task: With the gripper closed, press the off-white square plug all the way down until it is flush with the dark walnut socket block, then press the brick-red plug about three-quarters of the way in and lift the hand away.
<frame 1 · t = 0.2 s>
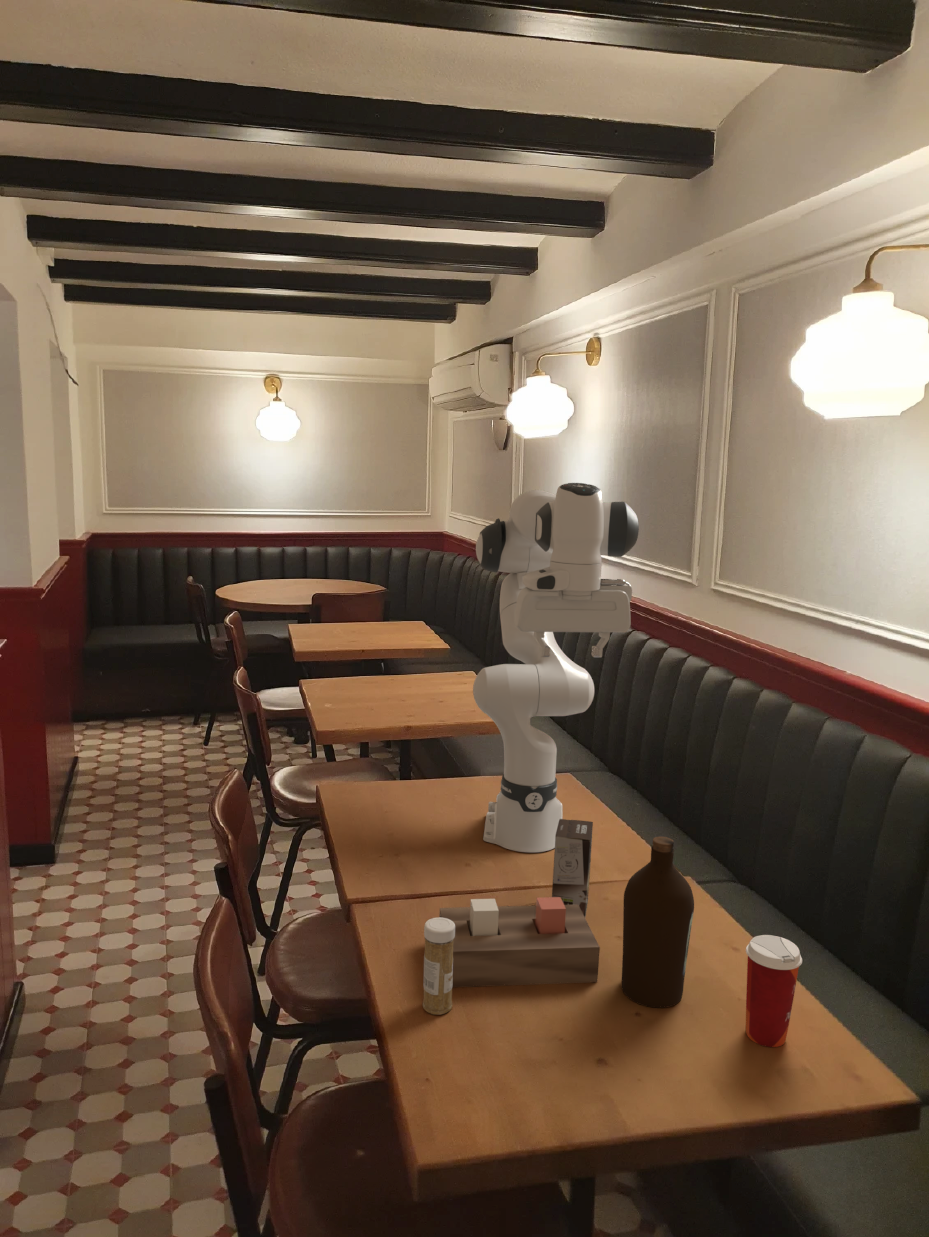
hand: (570, 656, 160), 48 cm above the table, tool pointing down, fingers open, 8 cm apart
spice jar: (437, 1008, 136), on the table
white plug: (483, 921, 148), point 7 cm above the table, slide at 0.0 cm
red plug: (550, 919, 149), point 7 cm above the table, slide at 0.0 cm
olive oil: (652, 992, 142), on the table
socket block: (515, 960, 150), on the table
paper cup: (765, 1036, 132), on the table
coffee box: (569, 912, 167), on the table
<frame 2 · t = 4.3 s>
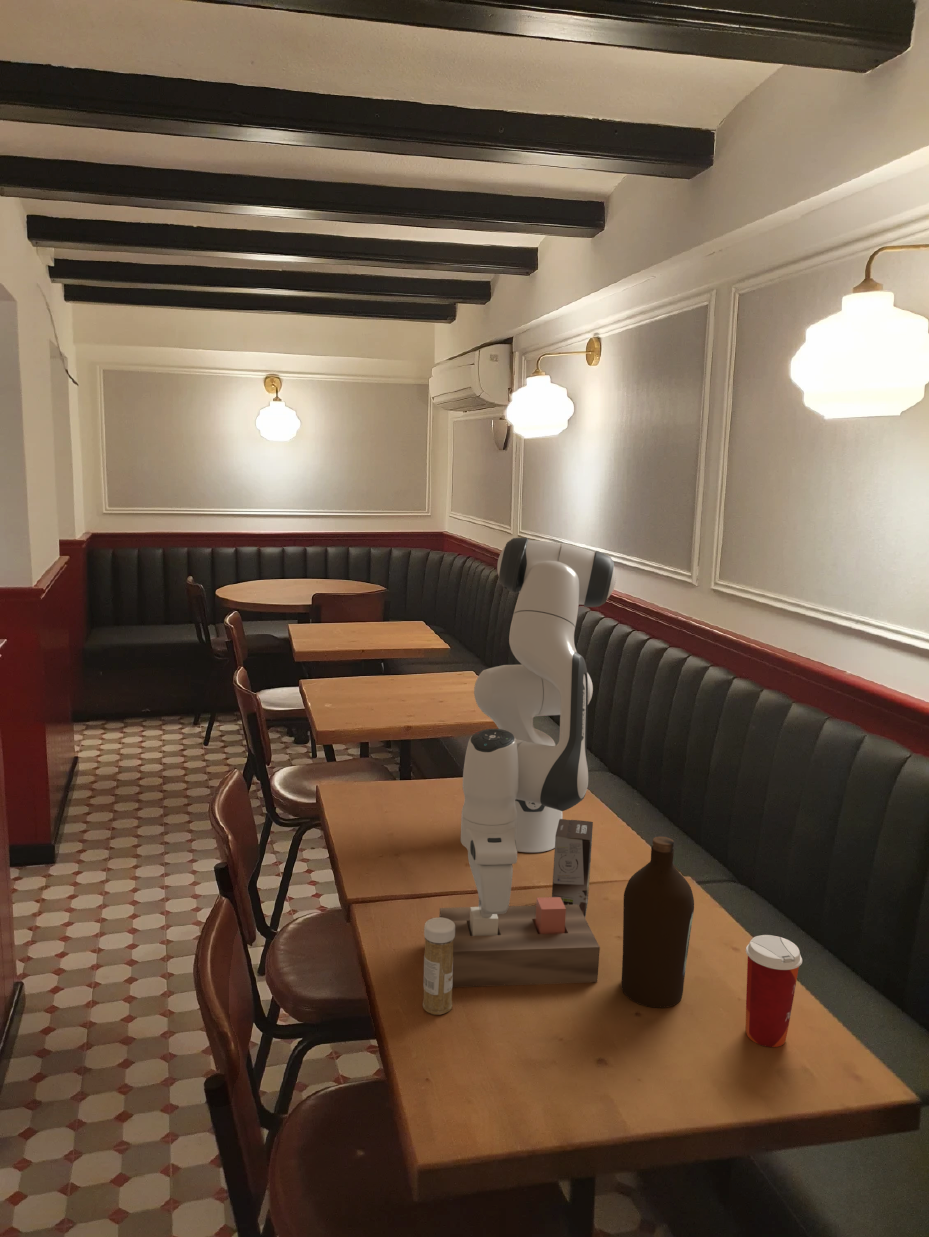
hand: (485, 913, 147), 9 cm above the table, tool pointing down, fingers closed, pressing on white plug
white plug: (483, 929, 148), point 6 cm above the table, slide at 1.4 cm, touching gripper
everything else where it was.
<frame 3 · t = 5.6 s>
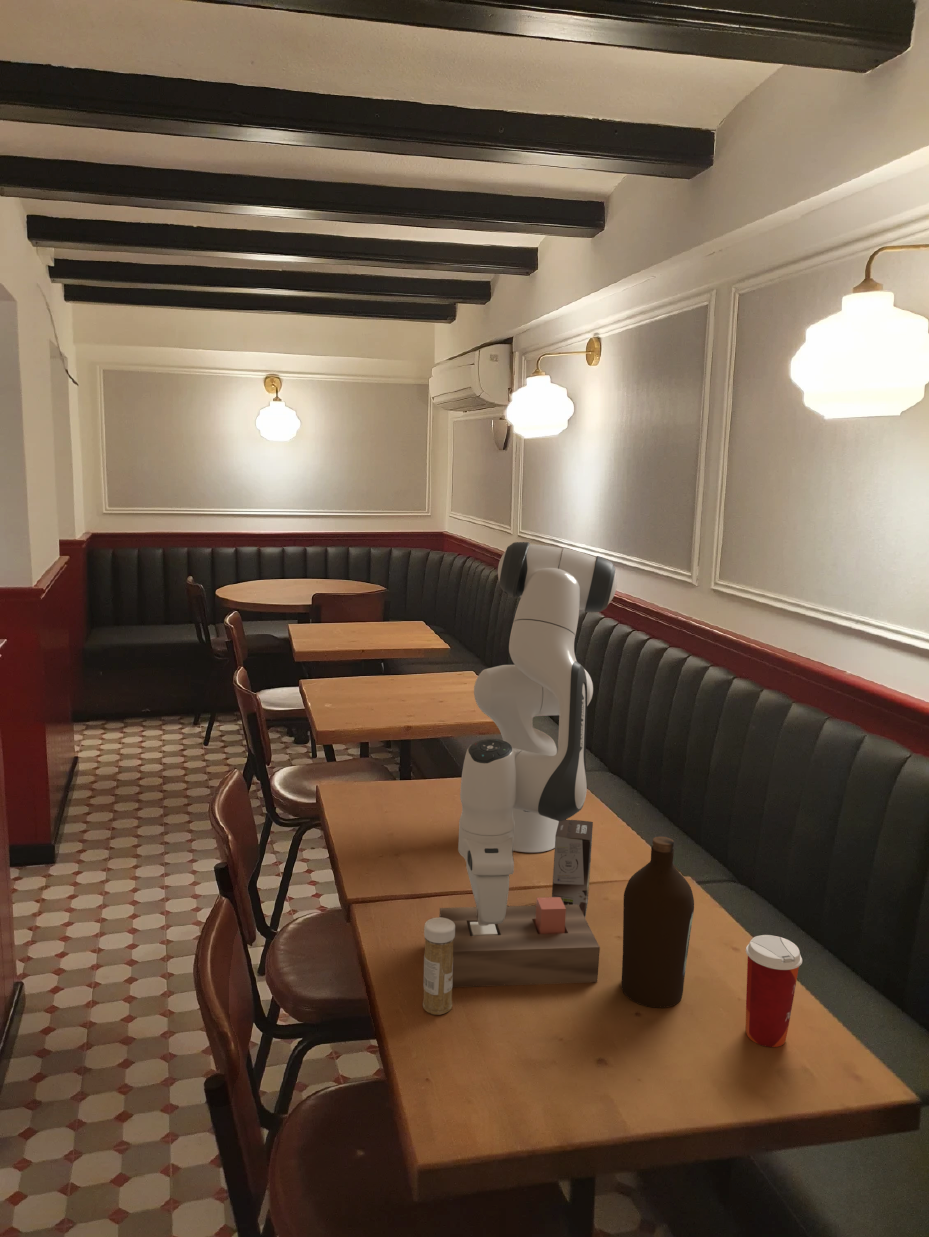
hand: (482, 921, 148), 7 cm above the table, tool pointing down, fingers closed
white plug: (482, 944, 148), point 3 cm above the table, slide at 4.0 cm
everything else where it was.
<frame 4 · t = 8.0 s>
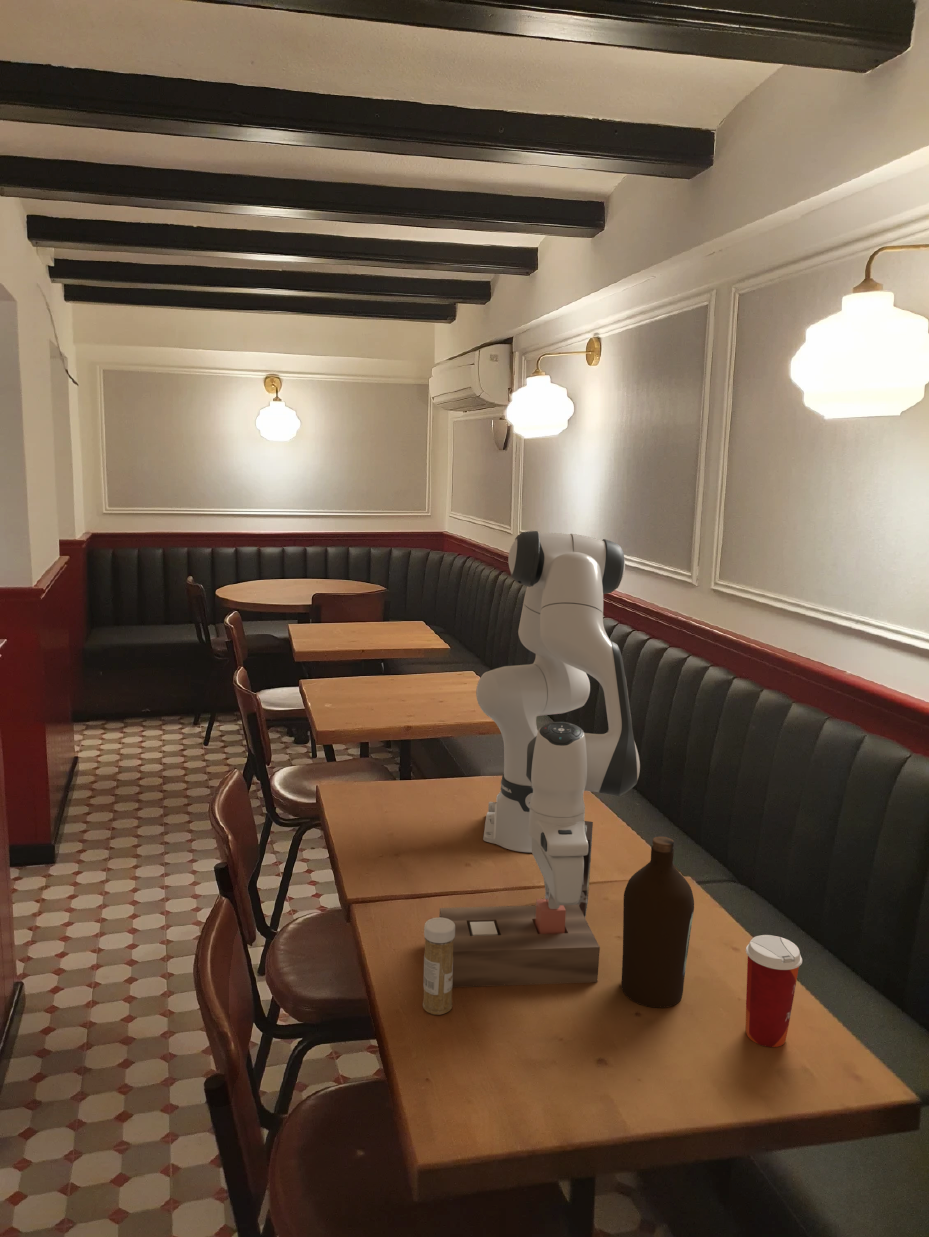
hand: (552, 904, 149), 10 cm above the table, tool pointing down, fingers closed, pressing on red plug
red plug: (550, 921, 149), point 7 cm above the table, slide at 0.3 cm, touching gripper
everything else where it was.
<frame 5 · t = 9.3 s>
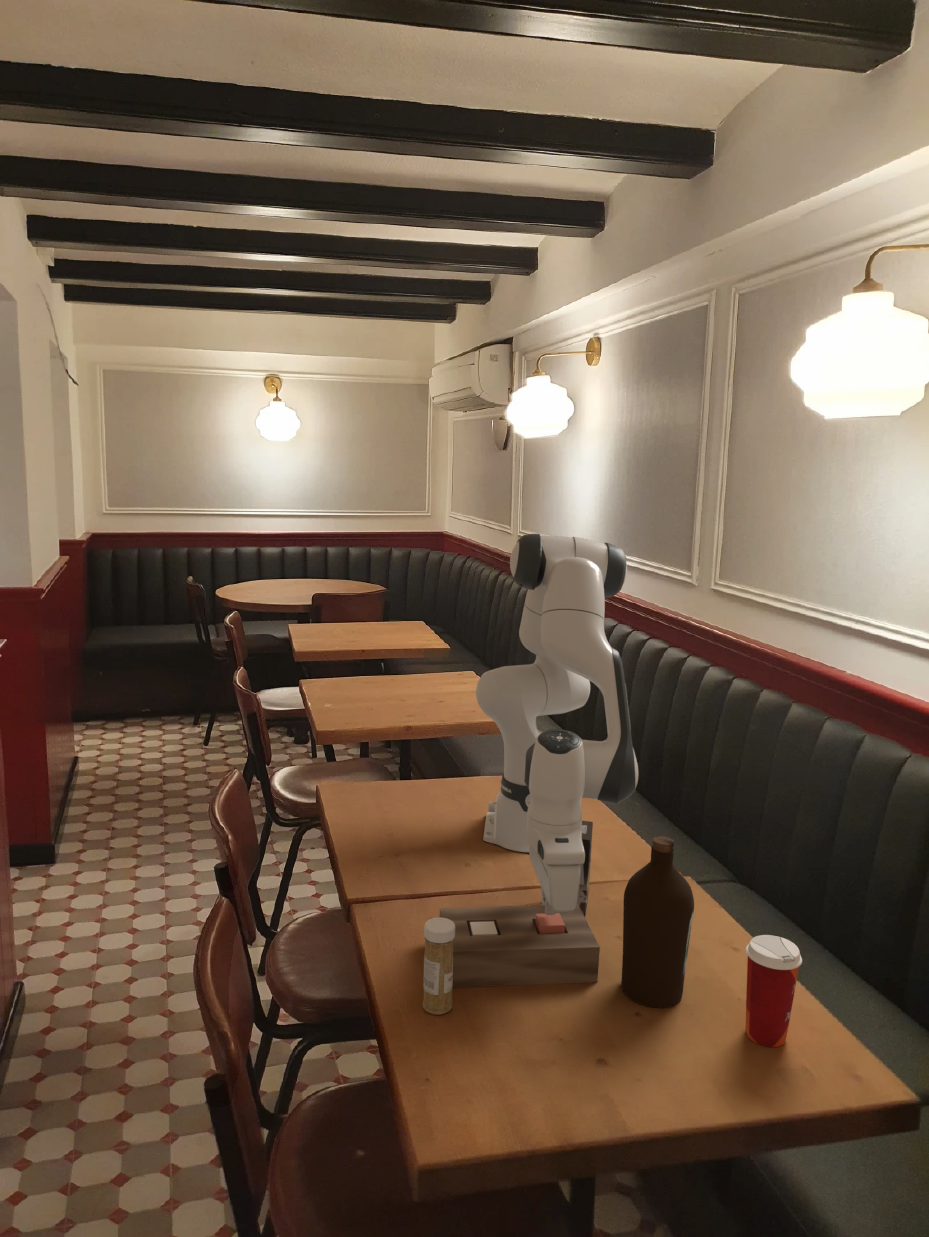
hand: (548, 910, 149), 8 cm above the table, tool pointing down, fingers closed
red plug: (549, 935, 150), point 4 cm above the table, slide at 2.9 cm
everything else where it was.
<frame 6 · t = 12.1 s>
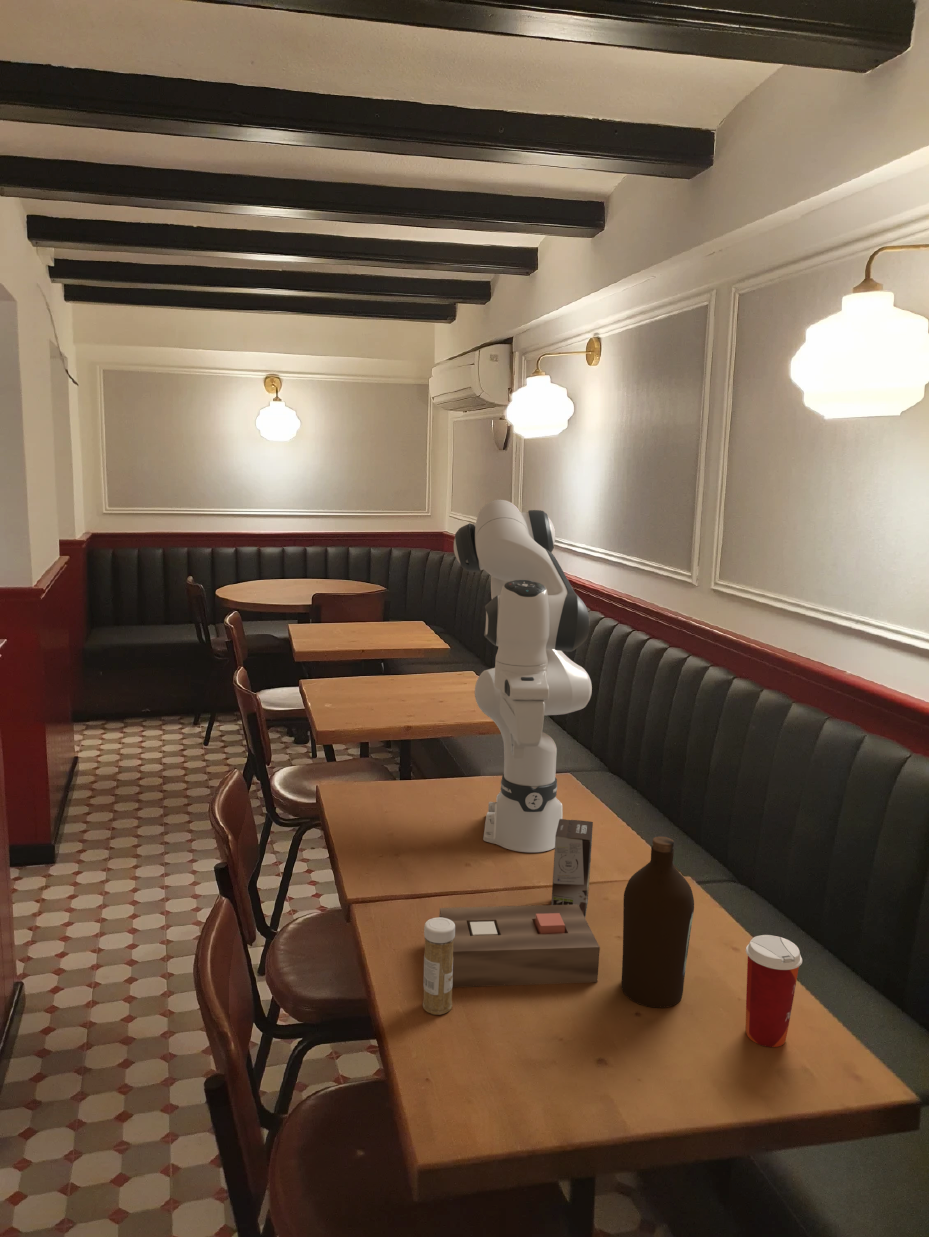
hand: (517, 755, 156), 31 cm above the table, tool pointing down, fingers closed
nothing on the table moved.
at the end: white plug slide at 4.0 cm; red plug slide at 2.9 cm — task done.
